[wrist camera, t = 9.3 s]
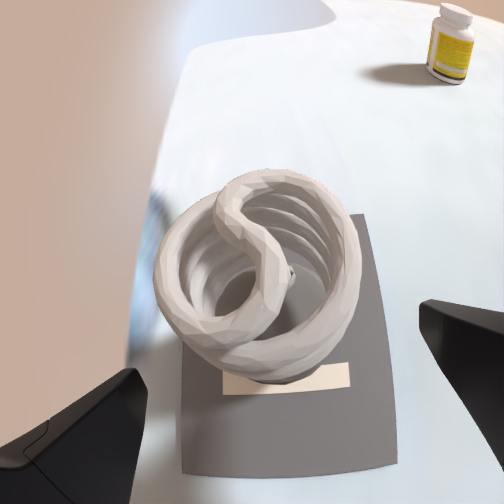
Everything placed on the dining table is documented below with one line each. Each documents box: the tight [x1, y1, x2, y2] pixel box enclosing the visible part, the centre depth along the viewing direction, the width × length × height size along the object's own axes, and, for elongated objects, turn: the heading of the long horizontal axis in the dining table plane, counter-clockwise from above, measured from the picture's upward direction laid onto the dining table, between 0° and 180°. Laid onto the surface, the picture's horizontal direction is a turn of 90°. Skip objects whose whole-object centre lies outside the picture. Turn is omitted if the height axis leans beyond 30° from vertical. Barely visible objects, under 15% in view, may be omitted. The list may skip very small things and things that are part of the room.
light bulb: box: [153, 169, 362, 385], centre depth 12 cm, size 6×6×12 cm
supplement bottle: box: [426, 3, 474, 84], centre depth 24 cm, size 5×5×10 cm
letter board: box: [182, 214, 397, 478], centre depth 17 cm, size 16×12×1 cm
